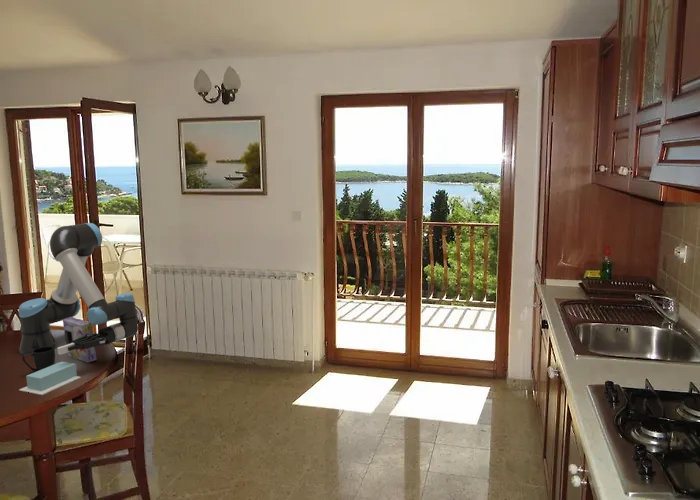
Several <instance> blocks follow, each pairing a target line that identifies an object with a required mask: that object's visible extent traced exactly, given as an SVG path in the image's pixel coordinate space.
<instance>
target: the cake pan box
mask: <svg viewBox="0 0 700 500" xmlns="http://www.w3.org/2000/svg"><path fill="white" fill-rule="evenodd" d="M62 324H63V330H64V332H63V333H64V339H65V343H66V344H65V345H68V344H71V341H73V340H75V339H78V338H80V337H83V336H85V335H86V334H89V336H90V335H92V334H94V333H93V327H92V324H91V323H90V322H89V321H87V320H84V319H81V318H76V317H75V316H74V317H70V318H67V319H63V320H62ZM67 355H68V357H71V358H73V359H76V360H79V361H81V362H84V363H91V362H95V361H97V359H98V358H97V353H96V346H95V347H91V348H87V349H83V350H80V349H78V350H73V351H70V352H67Z"/></svg>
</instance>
